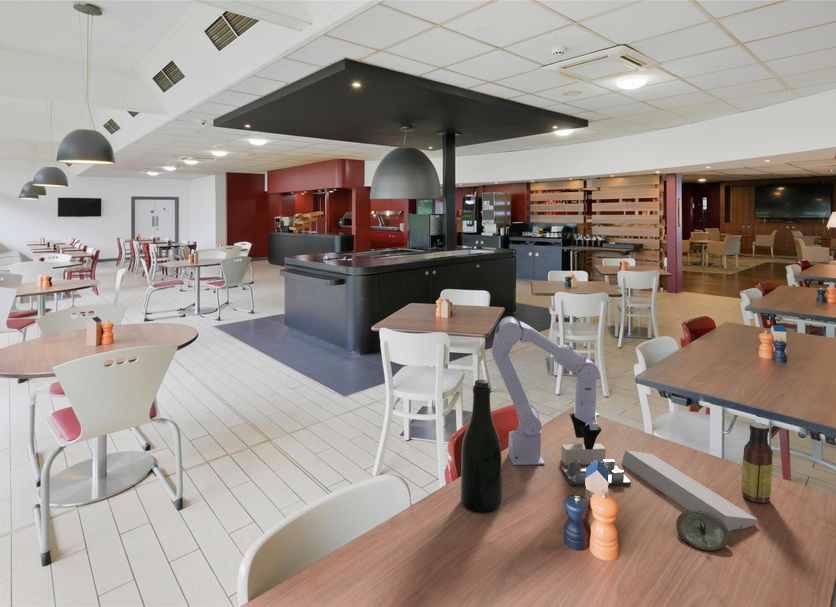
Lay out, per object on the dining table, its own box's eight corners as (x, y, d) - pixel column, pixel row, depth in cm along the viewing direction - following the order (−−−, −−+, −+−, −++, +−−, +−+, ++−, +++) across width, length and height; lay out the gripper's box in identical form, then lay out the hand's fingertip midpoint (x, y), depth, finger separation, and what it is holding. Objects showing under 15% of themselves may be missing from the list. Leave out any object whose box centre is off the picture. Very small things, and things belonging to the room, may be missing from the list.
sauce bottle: (768, 495, 126) (776, 423, 123) (771, 507, 121) (779, 432, 118) (738, 488, 130) (745, 418, 126) (739, 500, 124) (747, 427, 121)
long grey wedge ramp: (647, 469, 147) (620, 465, 144) (652, 454, 146) (625, 450, 143) (751, 538, 114) (719, 535, 111) (757, 519, 114) (726, 515, 111)
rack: (572, 487, 132) (572, 475, 131) (561, 470, 141) (562, 459, 140) (630, 485, 132) (631, 473, 132) (616, 468, 141) (617, 457, 140)
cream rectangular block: (565, 465, 144) (565, 449, 143) (561, 460, 147) (561, 444, 146) (604, 464, 144) (605, 448, 143) (600, 458, 148) (600, 443, 147)
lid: (730, 535, 111) (732, 515, 110) (726, 559, 103) (728, 538, 102) (679, 519, 117) (680, 500, 116) (671, 540, 109) (673, 520, 108)
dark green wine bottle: (508, 500, 126) (510, 378, 121) (490, 520, 118) (491, 390, 112) (472, 488, 132) (472, 372, 127) (453, 507, 123) (452, 383, 118)
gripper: (609, 408, 135) (607, 453, 138) (589, 390, 150) (588, 432, 152) (584, 409, 135) (582, 454, 138) (567, 391, 150) (566, 432, 152)
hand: (584, 443), depth 145 cm, fingers open, 7 cm apart
